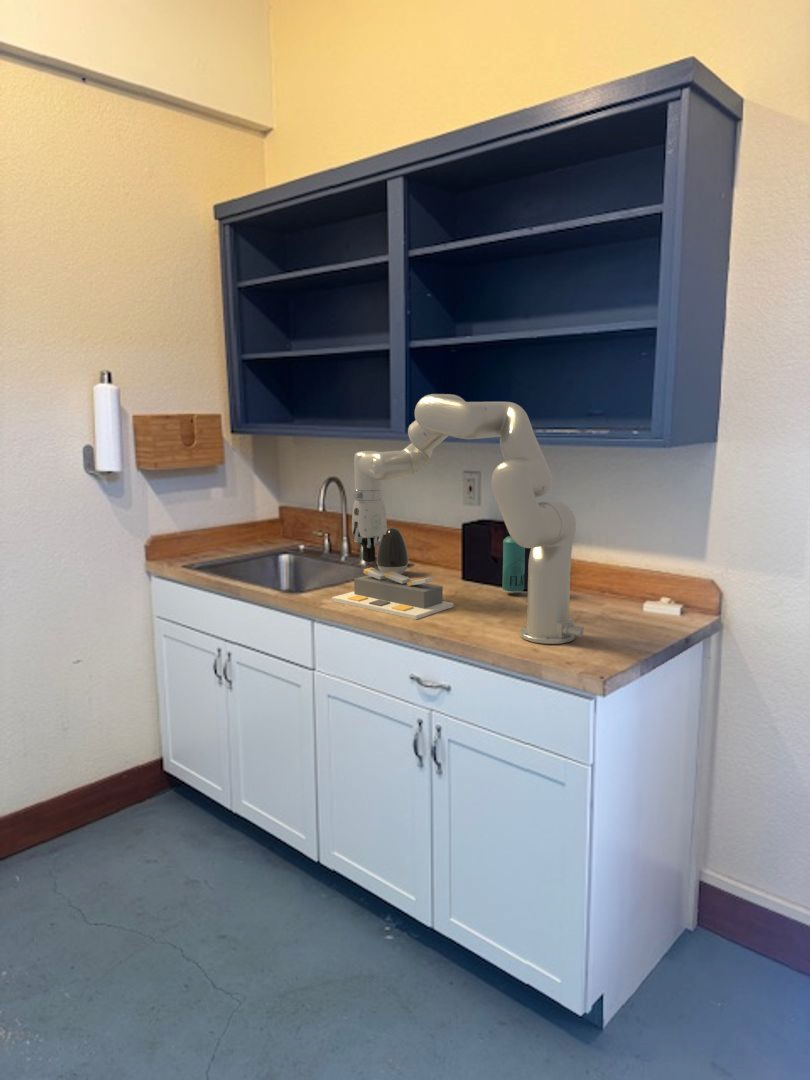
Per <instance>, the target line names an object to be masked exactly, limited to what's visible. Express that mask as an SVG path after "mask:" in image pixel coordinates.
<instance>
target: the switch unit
mask: <svg viewBox="0 0 810 1080" xmlns="http://www.w3.org/2000/svg"><path fill="white" fill-rule="evenodd" d="M353 583H354V589H353V590H354V591H351V592H350V591H349V592H347V593H343V594H339V595H335V596H332V597H331V602H336V603H339V604H344V605H348V606H349V605H350V606H354V607H358V608H363V609H366V610H372V611H375V612H380V613H385V614H390V615H392V616H393V615H394V616H398V617H403V618H407V619H412V620H418V619H421V618H424V617H427V616H429V615H430V616H431V615H433V614H436V613H439V612H442V611H445V610H448V609H451V608H453V607H454V602H448V601H445V600H443V597H444V596H443V595H444V594H443V591H444V590H443V586H441V585H437V584H431V583H422V584H417V585H411V586H408V585H407V583H403V584H401V583H399V582H396V581H394V580H392V579H389V578H385V579H381V580H380V579H377V578H375V577H372V576H370V575H368V574H366V575H364V576H360V577H356V578H355V577H354V581H353Z"/></svg>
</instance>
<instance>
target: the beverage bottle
mask: <svg viewBox="0 0 810 1080" xmlns="http://www.w3.org/2000/svg"><path fill="white" fill-rule="evenodd" d="M506 533H507V534H509V532H508V529H507V528H506ZM526 549H527V548H524V547H521V546H519V545H518V544H517V543H516V542H515V541H514V540H513V539H512V537H511V536H510V535H509V536H506V537H505V538H504V539H503V541H502V579H501V580H502V586H501V587H502V590H503V591H505V592H513V593H516V592H517V593H518V592H523V591H524V589H525V584H526V583H525V582H526V581H525V580H526V576H525V573H526V569H525V567H526V566H525V565H526V563H525V562H526Z"/></svg>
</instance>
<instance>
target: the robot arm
mask: <svg viewBox="0 0 810 1080" xmlns="http://www.w3.org/2000/svg"><path fill="white" fill-rule="evenodd" d="M414 419H415V420H414V421H412V422H411V424H409V425H408V429H407V434H408V438H409V441H410V442H411V443H410V444H408V445H407V446H406V447H405V448H404V449H402V450H390V451H380V452H379V451H374V450H363V451H362V450H361V451H358V452H356V453H355V454H354V457H353V460H354V464H353V465H354V469H353V470H354V471H353V472H354V473H353V474H354V493H353V498H354V501H353V506H352V515H351V532H352V533H351V534H352V536H354V539H353V541H354V542H355V543H359V544H360V547H361V548H362V560H363V561H364V562H369V563H372V562H375V561H376V547H377V546H378V541H379V540H381V538H382V537H383V535H384V534H386V532H387V529H388V524H387V523H388V522H387V511H386V504H385V502H384V501H385V500H384V499H383V498H382V497H383V494H382V493H383V484H382V483H383V481H387V480H388V481H389V480H396V479H405V478H409V477H411V476H412V475H415V474H416V473H417V472H418V471H420V469H422V468H423V467H424V466H425V465H427V464H428V463H429V461H430V459H431V456H432V455H433V452H434V451H433V450H434V449H435V448H436V447H437V446H439V445H440V444H441V443H442V442H443V441H444V440H445V439H447V438H448V437H452V438H457V439H463V440H475V439H487V438H488V439H489V438H490V439H491V438H496V437H497V438H499V446H500V447H499V448H500V451H501V454H502V457H503V459H504V461H502V462H500V463H499V464H498V465H497V466H496V467H495V469H494V470H493V472H492V475H491V491H492V495H493V498H494V500H495V502H496V505H497V507H498V510H499V512H500V514H501V516H502V519H503V522H504V525H505V526H506V527H505V528H506V530H507V529H508V532H509V533H508V534H509V536H511V537H512V539H513V540H514V541H515V542H516V543H517V544H518V545H519V546H521V547H524V548H525V549H530V551H529V555H528V557H529V558H528V565H527V566H528V570H527V574H528V575H527V605H526V609H527V610H526V626H523V627H522V628H521V629H520V630H519V635H520V637H521V638H522V639H524V640H526V641H528V642H532V643H536V644H542V645H544V644H546V645H555V644H556V645H557V644H558V645H560V644H567V643H570V642H572V641H574V640H575V638H576V637H577V638H583V636H584V626H579V625H575V624H574V618H572V617H570V596H571V595H570V594H571V593H570V591H571V567H572V553H573V552H572V551H573V546H574V545H573V544H574V540H575V535H576V530H577V521H576V520H577V519H576V515H575V513H574V511H573V509H572V508H571V507H570V506H569V505H568V504H566V503H565V502H563V501H558V500H547V501H542V502H539V501H538V499H540V498H542V497H546V495H549V493H550V492H551V491H552V488H553V484H554V481H553V475H552V472H551V470H550V468H549V465H548V463H547V460H546V458H545V456H544V453H543V451H542V448H541V446H540V444H539V442H538V439H537V437H536V435H535V432H534V430H533V426H532V423H531V422H530V419H529V415H528V414H527V411H525V409H523V407H522V406H520V405H519V404H517V403H515V402H512V401H466V400H465V399H464V398H462V397H461V396H459V395H457V394H451V393H449V394H448V393H446V394H445V393H431V394H426V395H424V396H423V397H421V398H420V399H419V400H418V402H417V403H416V405H415V409H414Z"/></svg>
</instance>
